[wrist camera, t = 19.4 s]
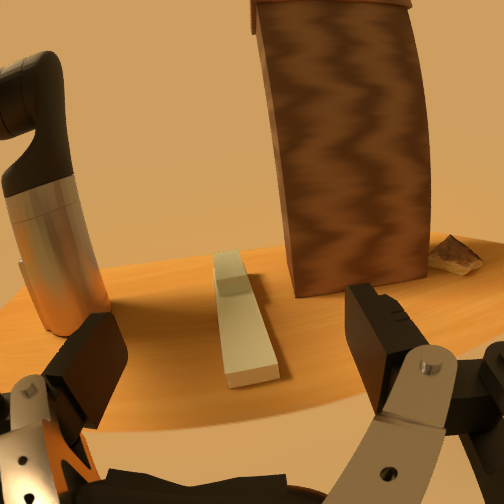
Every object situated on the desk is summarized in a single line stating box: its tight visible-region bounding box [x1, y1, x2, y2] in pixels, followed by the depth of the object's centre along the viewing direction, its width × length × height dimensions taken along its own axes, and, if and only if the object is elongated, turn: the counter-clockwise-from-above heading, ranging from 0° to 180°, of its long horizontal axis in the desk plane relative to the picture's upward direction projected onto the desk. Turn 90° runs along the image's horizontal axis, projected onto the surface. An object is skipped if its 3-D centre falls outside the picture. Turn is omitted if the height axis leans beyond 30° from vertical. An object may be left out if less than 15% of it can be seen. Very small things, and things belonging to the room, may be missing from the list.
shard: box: [428, 235, 484, 276], centre depth 35 cm, size 11×8×2 cm
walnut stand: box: [250, 0, 431, 298], centre depth 32 cm, size 17×11×32 cm, turn 89°
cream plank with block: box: [213, 249, 280, 389], centre depth 31 cm, size 4×20×4 cm, turn 9°
